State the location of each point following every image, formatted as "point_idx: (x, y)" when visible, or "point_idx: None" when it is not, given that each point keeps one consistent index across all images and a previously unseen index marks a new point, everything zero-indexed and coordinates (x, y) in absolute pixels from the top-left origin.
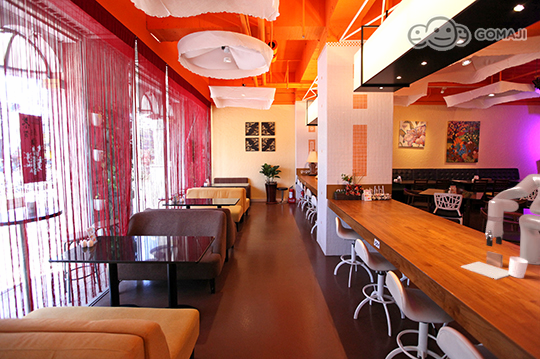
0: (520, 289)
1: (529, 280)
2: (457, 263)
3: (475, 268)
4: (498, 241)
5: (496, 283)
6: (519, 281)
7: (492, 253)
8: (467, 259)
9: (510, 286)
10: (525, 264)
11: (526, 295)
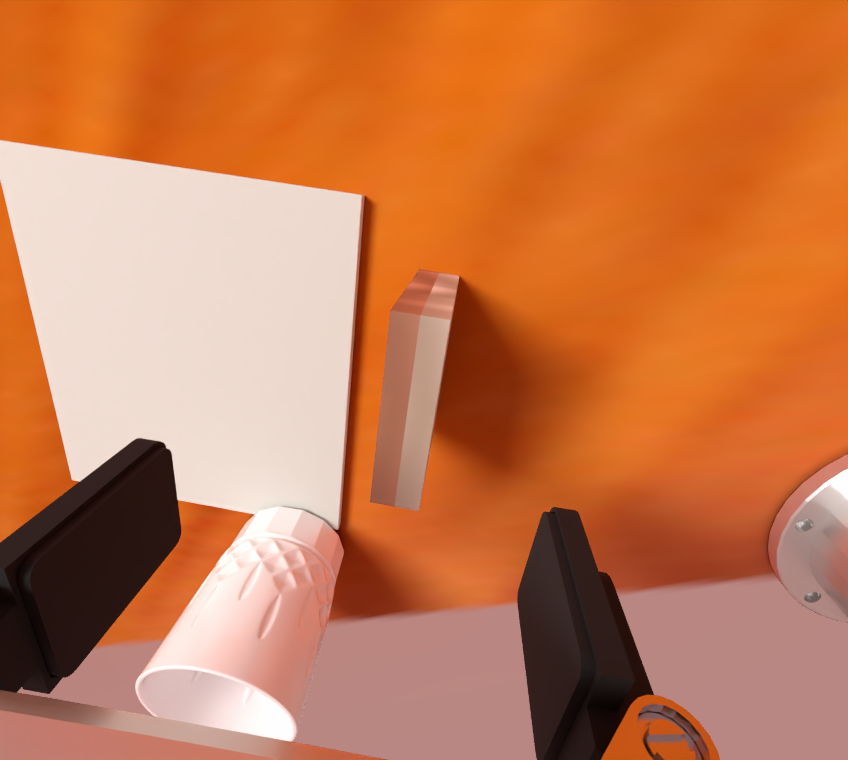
0: None
1: None
2: (65, 28)
3: (101, 282)
4: (537, 617)
5: (17, 493)
6: (209, 570)
7: (381, 398)
8: (355, 20)
9: None
10: (213, 721)
11: None
